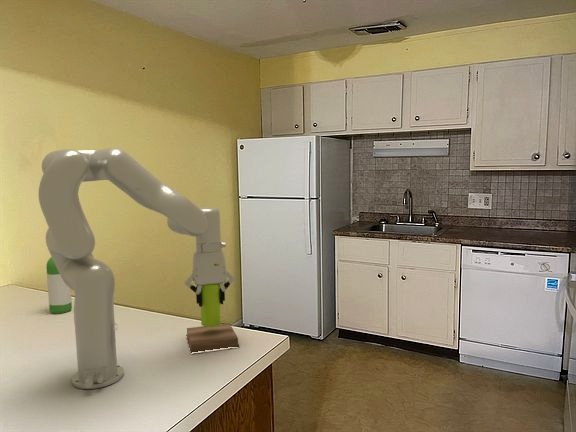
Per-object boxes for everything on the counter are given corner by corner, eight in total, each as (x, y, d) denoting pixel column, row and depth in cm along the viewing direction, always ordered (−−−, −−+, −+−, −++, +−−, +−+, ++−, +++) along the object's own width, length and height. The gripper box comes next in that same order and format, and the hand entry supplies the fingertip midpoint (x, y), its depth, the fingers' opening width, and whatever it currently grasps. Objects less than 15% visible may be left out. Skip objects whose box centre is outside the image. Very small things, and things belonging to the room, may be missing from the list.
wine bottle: (52, 309, 176) (46, 234, 173) (73, 307, 178) (68, 233, 175) (47, 315, 169) (41, 237, 165) (70, 313, 171) (64, 235, 168)
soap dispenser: (212, 329, 136) (211, 264, 134) (197, 324, 140) (196, 261, 138) (226, 323, 141) (225, 261, 139) (211, 319, 145) (210, 258, 143)
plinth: (239, 347, 136) (239, 338, 136) (190, 354, 132) (190, 344, 132) (230, 331, 150) (230, 322, 150) (186, 336, 146) (185, 328, 145)
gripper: (233, 243, 144) (235, 298, 146) (179, 247, 138) (181, 303, 141) (238, 247, 137) (240, 304, 139) (181, 252, 131) (183, 311, 133)
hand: (210, 303), depth 140 cm, fingers closed on soap dispenser, 5 cm apart
